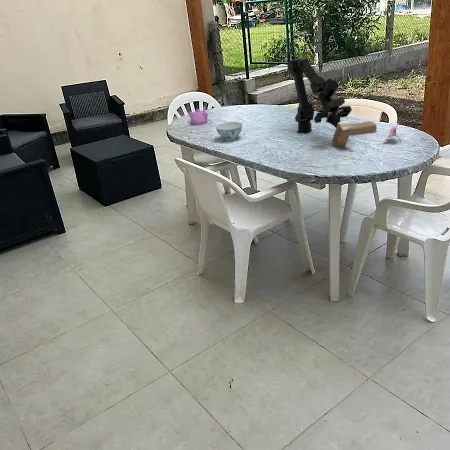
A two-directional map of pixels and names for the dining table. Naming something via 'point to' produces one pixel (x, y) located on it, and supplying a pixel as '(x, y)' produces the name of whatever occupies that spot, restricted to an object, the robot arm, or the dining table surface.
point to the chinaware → (229, 130)
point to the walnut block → (341, 134)
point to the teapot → (198, 117)
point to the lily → (392, 133)
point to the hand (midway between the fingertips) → (339, 128)
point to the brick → (363, 128)
